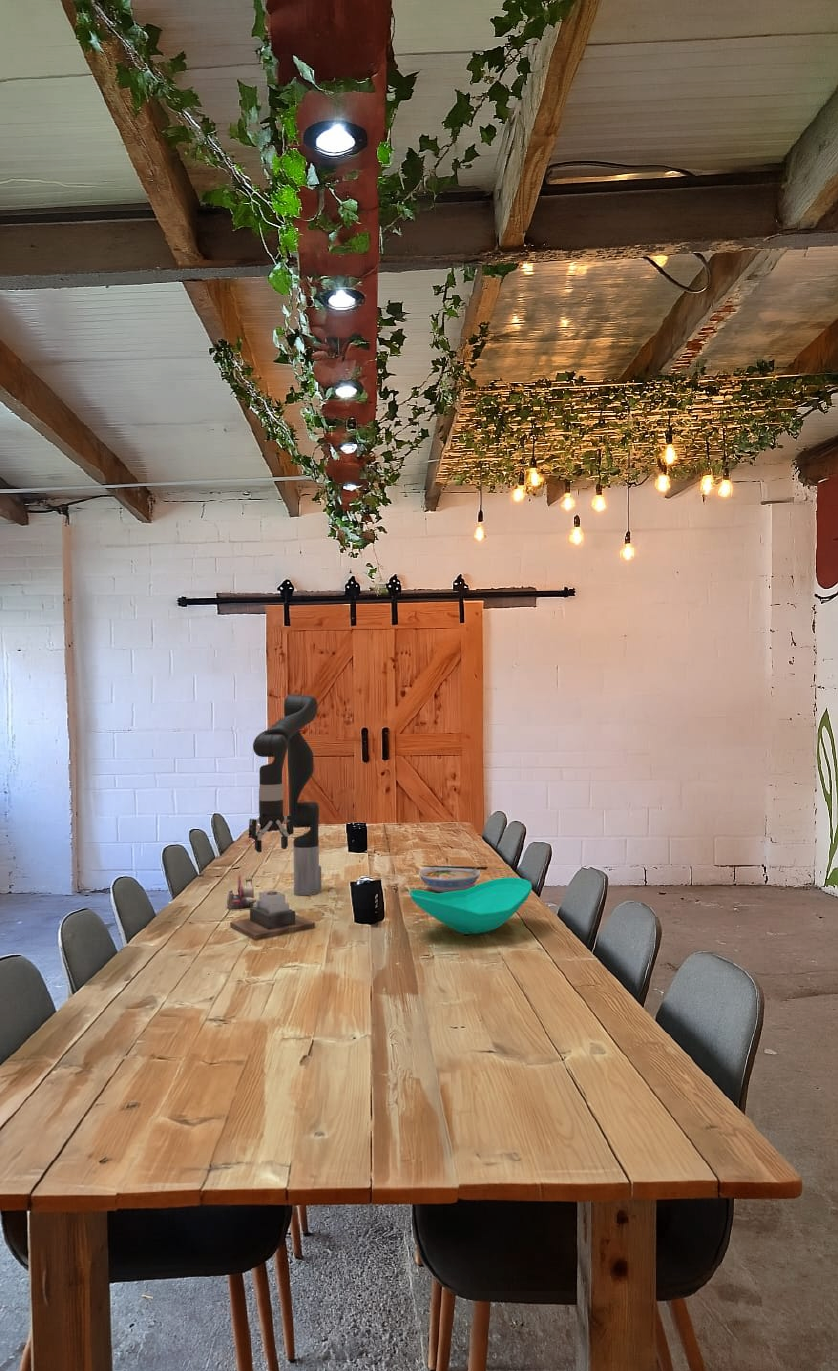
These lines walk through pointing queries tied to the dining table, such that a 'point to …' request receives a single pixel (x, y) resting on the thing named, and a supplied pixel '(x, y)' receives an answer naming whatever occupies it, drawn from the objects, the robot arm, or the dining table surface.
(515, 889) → the table top decor
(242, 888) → the brake caliper
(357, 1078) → the dining table surface
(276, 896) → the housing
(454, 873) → the ramen bowl
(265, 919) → the stand
